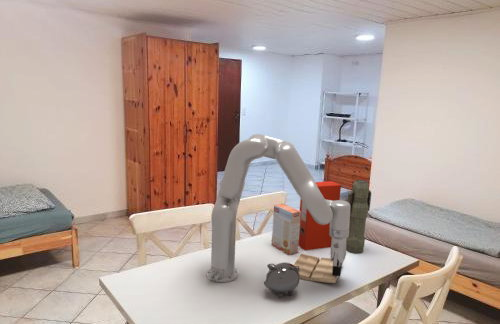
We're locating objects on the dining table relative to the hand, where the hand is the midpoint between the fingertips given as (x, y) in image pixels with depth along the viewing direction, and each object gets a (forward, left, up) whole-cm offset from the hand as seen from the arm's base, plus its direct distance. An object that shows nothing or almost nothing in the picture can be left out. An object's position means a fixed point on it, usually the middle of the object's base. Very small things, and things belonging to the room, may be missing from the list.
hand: (336, 274), depth 147 cm
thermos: (+36, -3, -3) cm, 36 cm away
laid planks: (+6, +14, -3) cm, 16 cm away
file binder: (+32, +15, -3) cm, 35 cm away
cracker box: (+21, +28, -3) cm, 35 cm away
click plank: (+6, +4, -2) cm, 8 cm away
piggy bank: (-18, +17, -3) cm, 25 cm away
